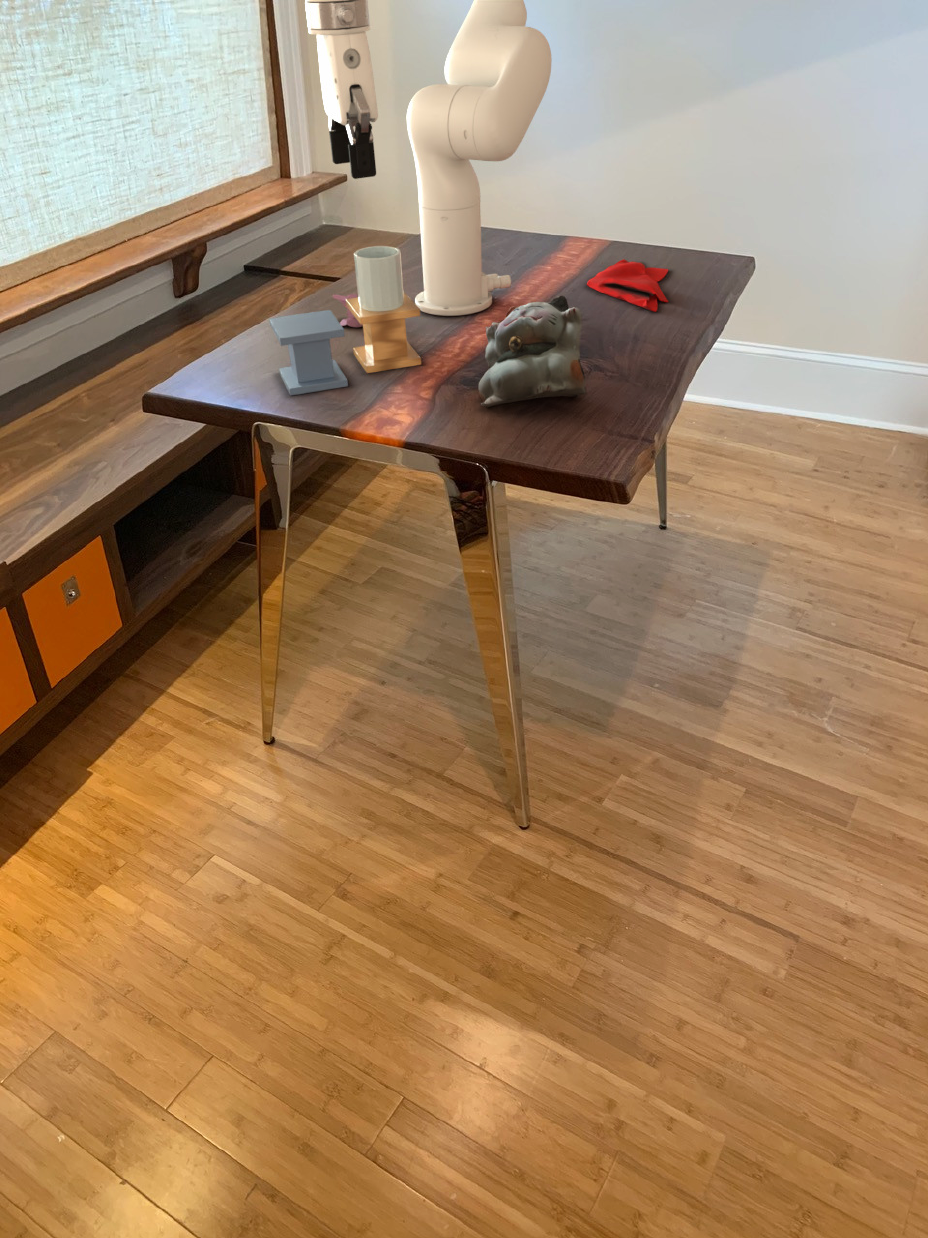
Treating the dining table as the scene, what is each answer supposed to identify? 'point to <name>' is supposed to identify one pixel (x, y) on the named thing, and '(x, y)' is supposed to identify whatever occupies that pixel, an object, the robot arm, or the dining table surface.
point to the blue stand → (309, 351)
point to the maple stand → (385, 337)
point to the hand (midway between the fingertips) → (354, 169)
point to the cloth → (631, 283)
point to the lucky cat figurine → (534, 354)
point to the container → (379, 278)
